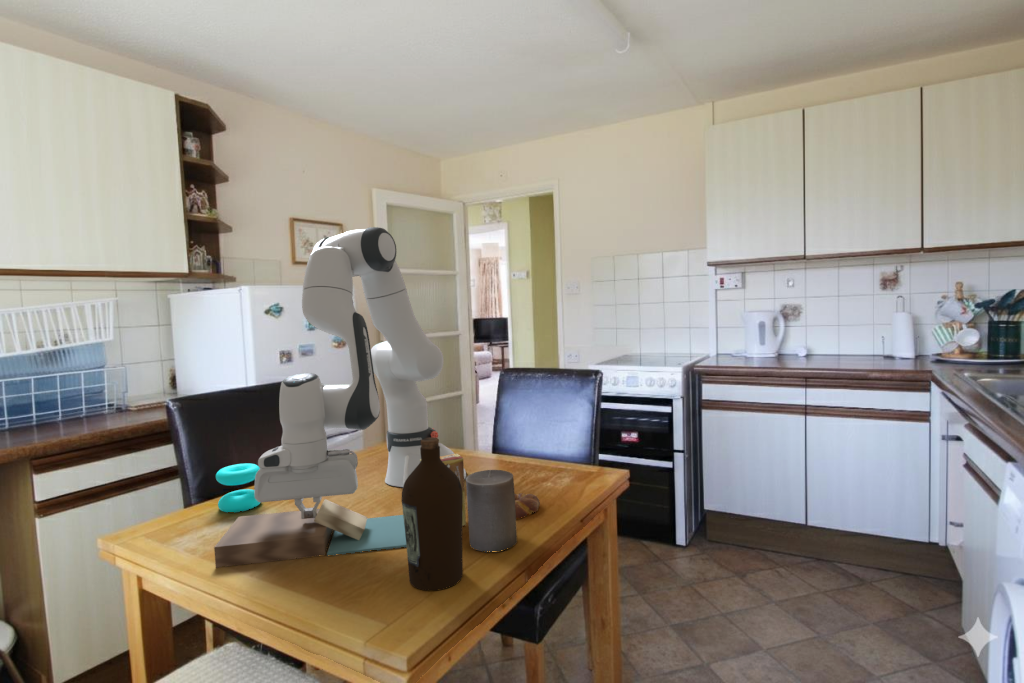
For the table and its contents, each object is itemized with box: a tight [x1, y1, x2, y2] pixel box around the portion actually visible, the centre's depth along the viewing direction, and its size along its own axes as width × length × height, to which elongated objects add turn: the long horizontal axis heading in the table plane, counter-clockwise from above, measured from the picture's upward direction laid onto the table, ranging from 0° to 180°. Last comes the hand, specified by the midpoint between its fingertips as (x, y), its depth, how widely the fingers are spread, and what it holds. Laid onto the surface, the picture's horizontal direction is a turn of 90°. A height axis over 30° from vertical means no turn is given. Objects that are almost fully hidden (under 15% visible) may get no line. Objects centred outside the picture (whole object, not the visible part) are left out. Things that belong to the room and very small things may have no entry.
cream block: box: [314, 498, 368, 540], centre depth 120 cm, size 10×7×2 cm
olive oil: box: [401, 437, 464, 591], centre depth 100 cm, size 11×11×25 cm
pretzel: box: [514, 492, 540, 519], centre depth 132 cm, size 12×11×4 cm
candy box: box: [420, 453, 467, 527], centre depth 123 cm, size 9×4×15 cm, turn 116°
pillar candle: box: [464, 469, 518, 553], centre depth 114 cm, size 10×10×15 cm
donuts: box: [215, 462, 262, 513], centre depth 141 cm, size 10×10×10 cm
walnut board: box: [213, 508, 334, 568], centre depth 118 cm, size 20×16×4 cm
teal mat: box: [326, 514, 407, 557], centre depth 121 cm, size 16×17×1 cm
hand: (309, 517), depth 119 cm, fingers closed
